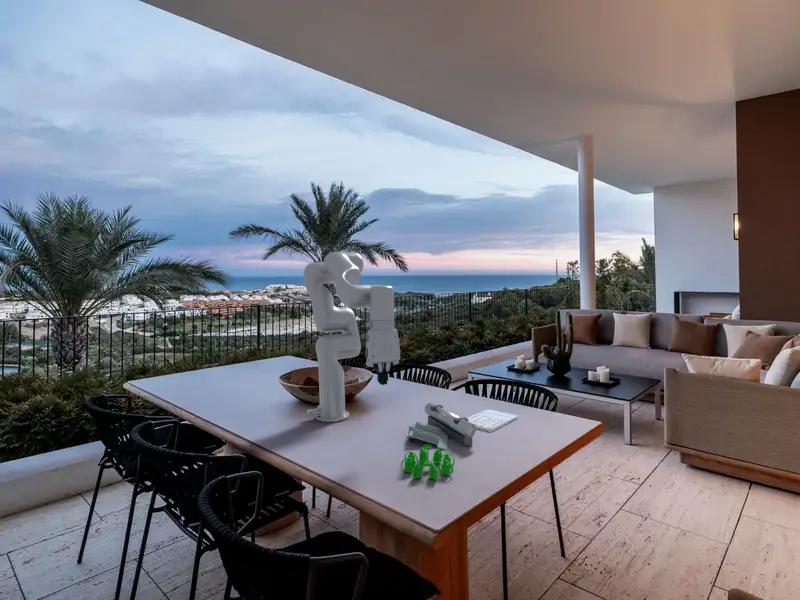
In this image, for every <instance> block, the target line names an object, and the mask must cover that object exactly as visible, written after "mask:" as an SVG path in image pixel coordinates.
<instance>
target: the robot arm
mask: <svg viewBox="0 0 800 600" xmlns="http://www.w3.org/2000/svg"><path fill="white" fill-rule="evenodd" d="M363 269H364V259H363V258H362V256H361V255H360V253H357V252H354V251H352V252H351V251H332V252H329V253H328V254H326V255H325V257H324V260H323V261H316V262H310V263H308V264H307V265H306V266H305V268H304V270H303V282H304V287H305V290H306V291H307V293H308V295H309V298H310V301H311V302H310V303H311V308H312V313H313V318H314V323H315V327H316V329H317V331H318V332H320V333H335V332H336V333H337V332H342V333H341V334H340V333H339V334H338V333H337V334H328V335H323V336H322V335H321V337H319V338H318V339H317V340H316V341H315V342H316V343H315V353H316V359H317V365H318V380H319V381H318V384H319V387H318V388H319V390H318V391H319V395H318V396H319V405H317V407H315V408H313V409H307V410H306V412H307V413H306V414H307V415H308V416H309V415H310V416H311V415H312V416H315V419H316V420H317V421H319V422H322V423H336V422H341V421H345V420H347V419H349V417H350V412H349V411H347V410H346V397H345V393H346V392H345V371H344V368H343V366H342V365H341V364H340V362H339V361H338V360H341V359H343V360H344V359H351V358H354V357H357V356H359V354H360V352H361V349H362V345H361V338H360V331H359V327H358V323H357V317H356V315H355V312H354V311H353V310H354V309H369V321H367V322H365V327H366V328H367V327H368V328H369V329H367V335H366V342H365V359H366V362H365V365H366V367H368V368H370V367H371V368H374V369H375V371H376V373H377V374H376V375H377V377H376V378H377V382H378V384H380V385H381V386H384V385H388V381H389V372H390V370H391V368H392V367H394V366H395V365H398V364H399V363H400V360H401V348H400V340H399V339H400V337H399V332H398V329H396V328H395V291H394V287H393V286H391V285H381V284H358V283H359V282H360V280H361V278H362V274H361V273H362V271H363ZM325 284H328V285H331V284H332V285H333V284H335V293H336V296H337V298H338V300H340V302H341V303H342V304H343V305H344V306H340V307H339V306H338V307H337V306H336V305H335V301H334V296H333V294H332V293H331V292H330V290H329V289H328V288H327V287H326V286H324V285H325ZM352 309H353V310H352Z"/></svg>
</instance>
